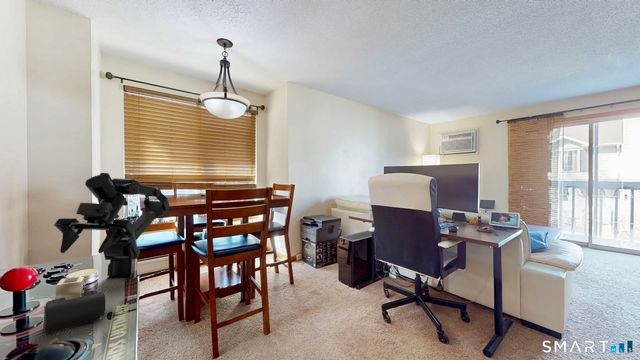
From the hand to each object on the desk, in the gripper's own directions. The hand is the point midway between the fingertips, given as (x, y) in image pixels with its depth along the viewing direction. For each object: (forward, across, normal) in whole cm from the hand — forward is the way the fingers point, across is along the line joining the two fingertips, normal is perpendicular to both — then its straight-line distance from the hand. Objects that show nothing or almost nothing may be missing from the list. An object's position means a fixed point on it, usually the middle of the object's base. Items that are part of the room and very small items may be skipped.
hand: (80, 252), depth 68 cm
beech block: (+8, -4, +12) cm, 15 cm away
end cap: (+19, +7, +1) cm, 20 cm away
